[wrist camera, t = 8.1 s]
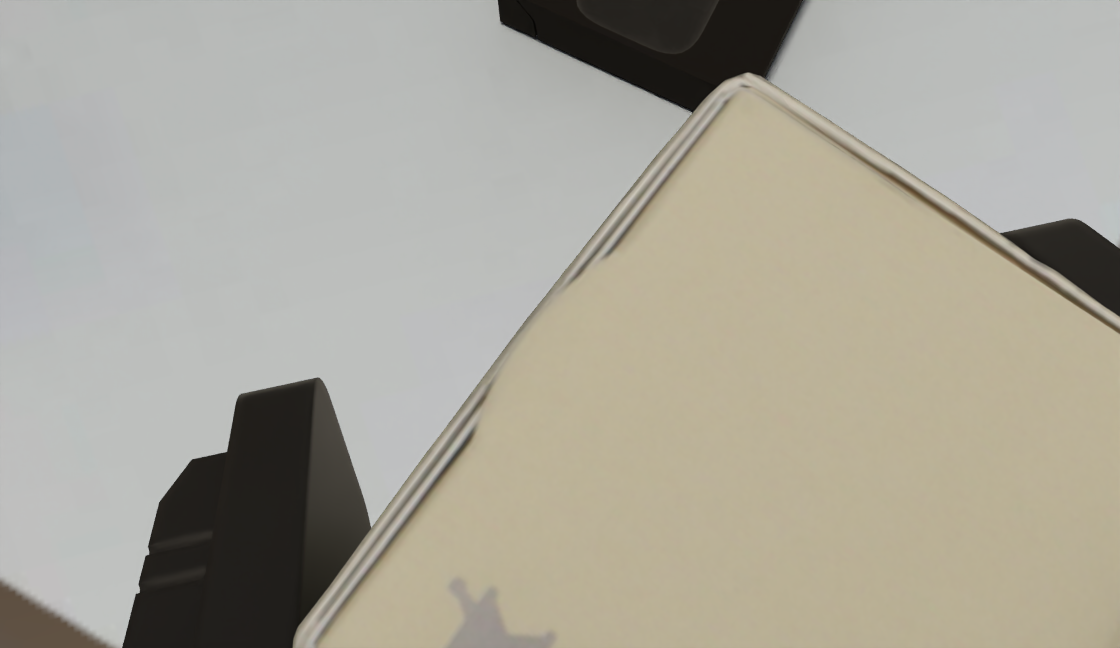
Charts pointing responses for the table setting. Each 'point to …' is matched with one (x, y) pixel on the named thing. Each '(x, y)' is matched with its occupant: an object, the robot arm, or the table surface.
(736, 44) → the vhs tape
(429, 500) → the box
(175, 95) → the table surface
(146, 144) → the table surface
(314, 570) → the robot arm
